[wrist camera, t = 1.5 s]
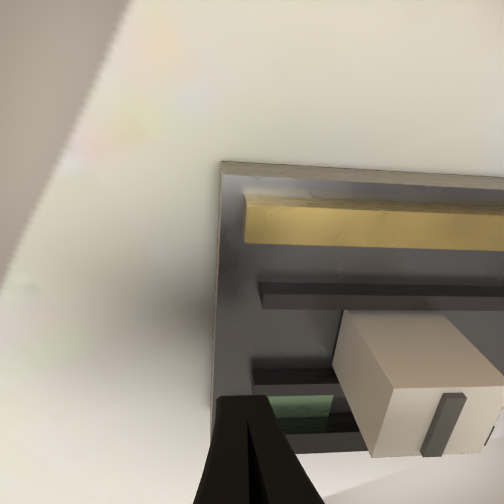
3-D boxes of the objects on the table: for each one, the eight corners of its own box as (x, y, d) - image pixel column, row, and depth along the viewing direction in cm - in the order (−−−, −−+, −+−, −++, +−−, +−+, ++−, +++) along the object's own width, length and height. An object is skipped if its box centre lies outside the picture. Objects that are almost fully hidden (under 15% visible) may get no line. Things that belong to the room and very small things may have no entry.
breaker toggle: (435, 306, 14) (519, 391, 10) (416, 363, 15) (484, 458, 11) (344, 306, 14) (397, 394, 10) (331, 364, 15) (374, 463, 11)
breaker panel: (549, 180, 15) (626, 203, 12) (455, 402, 20) (494, 453, 17) (220, 161, 13) (223, 183, 10) (210, 408, 18) (210, 467, 15)
